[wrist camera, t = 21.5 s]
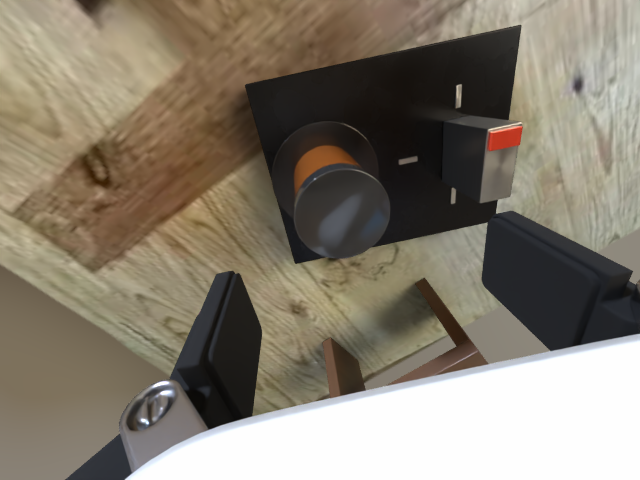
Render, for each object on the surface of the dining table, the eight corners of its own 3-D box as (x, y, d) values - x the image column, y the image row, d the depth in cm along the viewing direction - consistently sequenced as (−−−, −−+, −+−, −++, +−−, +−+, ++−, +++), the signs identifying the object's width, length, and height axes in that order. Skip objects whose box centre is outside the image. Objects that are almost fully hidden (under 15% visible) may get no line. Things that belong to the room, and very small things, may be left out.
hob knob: (465, 176, 22) (513, 198, 17) (441, 181, 22) (482, 205, 17) (470, 115, 20) (526, 122, 15) (443, 121, 20) (490, 129, 15)
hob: (481, 209, 26) (500, 221, 24) (294, 250, 26) (295, 265, 24) (500, 31, 20) (529, 22, 17) (249, 85, 20) (244, 84, 17)
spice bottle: (362, 202, 22) (393, 248, 15) (300, 216, 22) (305, 267, 15) (354, 136, 19) (387, 158, 13) (284, 151, 19) (283, 181, 13)
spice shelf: (447, 308, 32) (504, 385, 24) (350, 365, 35) (370, 451, 27) (424, 277, 30) (478, 351, 21) (322, 342, 33) (334, 428, 24)
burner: (381, 214, 23) (382, 216, 22) (286, 234, 23) (286, 237, 22) (372, 109, 19) (373, 109, 18) (258, 134, 19) (257, 134, 18)
